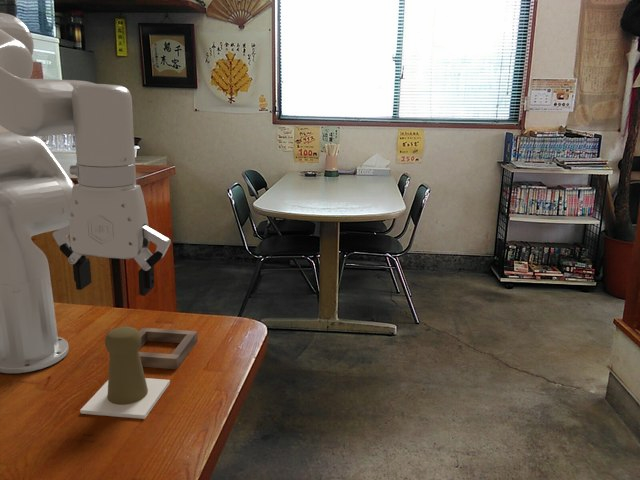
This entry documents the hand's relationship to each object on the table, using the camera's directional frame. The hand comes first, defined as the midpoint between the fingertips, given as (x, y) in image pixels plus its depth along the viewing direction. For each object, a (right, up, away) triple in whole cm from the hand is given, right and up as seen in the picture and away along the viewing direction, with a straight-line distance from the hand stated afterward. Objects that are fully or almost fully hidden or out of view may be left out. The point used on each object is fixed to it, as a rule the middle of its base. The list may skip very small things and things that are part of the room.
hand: (115, 289), depth 79 cm
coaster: (0, -18, +5) cm, 18 cm away
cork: (0, -17, +5) cm, 18 cm away
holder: (+1, -13, +19) cm, 23 cm away
